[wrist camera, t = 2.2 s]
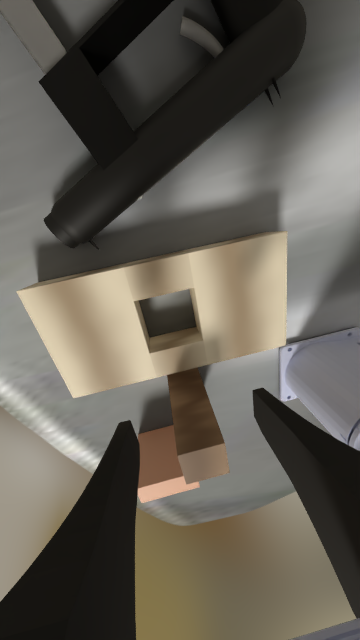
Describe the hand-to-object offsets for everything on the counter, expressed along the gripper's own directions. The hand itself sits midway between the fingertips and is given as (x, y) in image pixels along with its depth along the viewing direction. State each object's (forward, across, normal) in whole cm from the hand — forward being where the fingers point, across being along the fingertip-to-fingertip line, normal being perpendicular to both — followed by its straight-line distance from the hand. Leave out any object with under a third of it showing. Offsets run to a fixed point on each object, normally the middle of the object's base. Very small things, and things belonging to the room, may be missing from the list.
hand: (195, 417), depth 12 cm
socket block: (+10, 0, -3) cm, 10 cm away
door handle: (+10, 0, -20) cm, 23 cm away
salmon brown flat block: (+10, +4, +13) cm, 17 cm away
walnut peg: (+10, 0, +6) cm, 11 cm away
